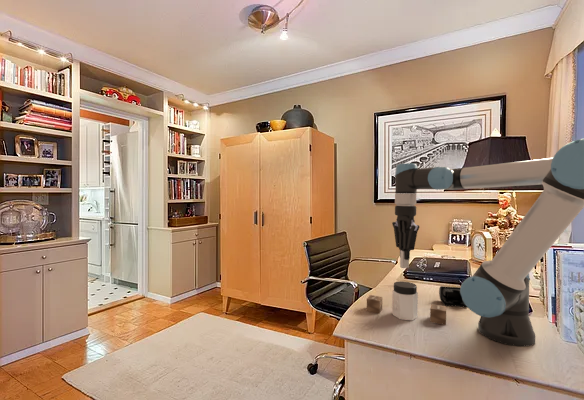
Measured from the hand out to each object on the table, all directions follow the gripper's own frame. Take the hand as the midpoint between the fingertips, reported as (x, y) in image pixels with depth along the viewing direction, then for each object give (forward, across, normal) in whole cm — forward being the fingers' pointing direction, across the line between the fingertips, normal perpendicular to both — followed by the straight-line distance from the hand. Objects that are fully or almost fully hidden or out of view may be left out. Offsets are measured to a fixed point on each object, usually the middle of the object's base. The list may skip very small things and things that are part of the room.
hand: (404, 267), depth 112 cm
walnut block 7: (+19, +8, +8) cm, 22 cm away
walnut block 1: (+18, -8, -9) cm, 22 cm away
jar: (+19, 0, 0) cm, 19 cm away
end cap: (+19, +4, -28) cm, 34 cm away
